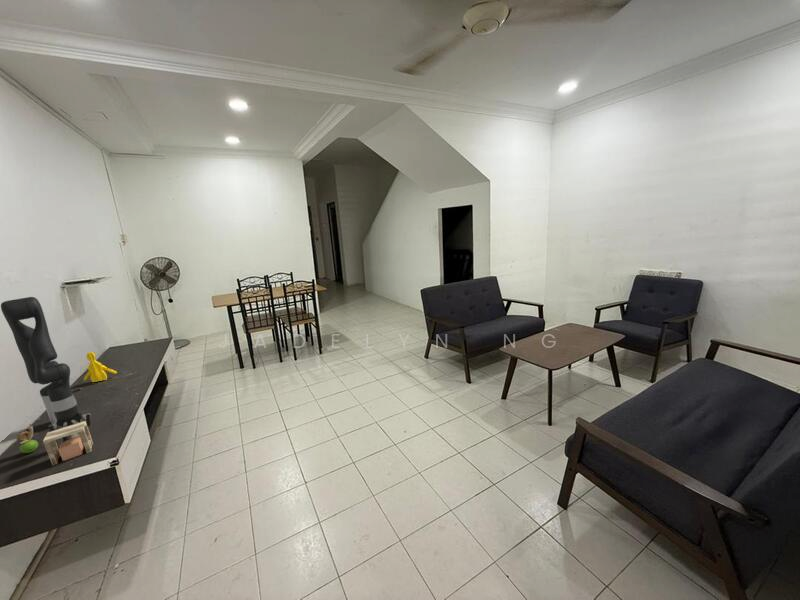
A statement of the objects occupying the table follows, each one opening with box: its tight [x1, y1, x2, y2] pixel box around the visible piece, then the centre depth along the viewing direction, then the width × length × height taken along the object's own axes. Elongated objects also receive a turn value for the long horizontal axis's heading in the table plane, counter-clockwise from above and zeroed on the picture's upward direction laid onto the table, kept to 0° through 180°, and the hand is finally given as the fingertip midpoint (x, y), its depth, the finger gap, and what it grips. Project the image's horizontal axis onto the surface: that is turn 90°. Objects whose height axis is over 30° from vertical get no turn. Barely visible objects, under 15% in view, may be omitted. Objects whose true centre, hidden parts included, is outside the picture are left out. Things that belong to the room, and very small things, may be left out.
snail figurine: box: [17, 423, 39, 454], centre depth 142 cm, size 5×6×12 cm
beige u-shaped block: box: [42, 420, 94, 466], centre depth 137 cm, size 8×12×12 cm, turn 129°
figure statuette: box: [83, 351, 118, 383], centre depth 211 cm, size 18×8×22 cm, turn 117°
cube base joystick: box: [58, 432, 85, 462], centre depth 141 cm, size 15×6×8 cm, turn 39°
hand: (76, 438), depth 147 cm, fingers open, 5 cm apart
